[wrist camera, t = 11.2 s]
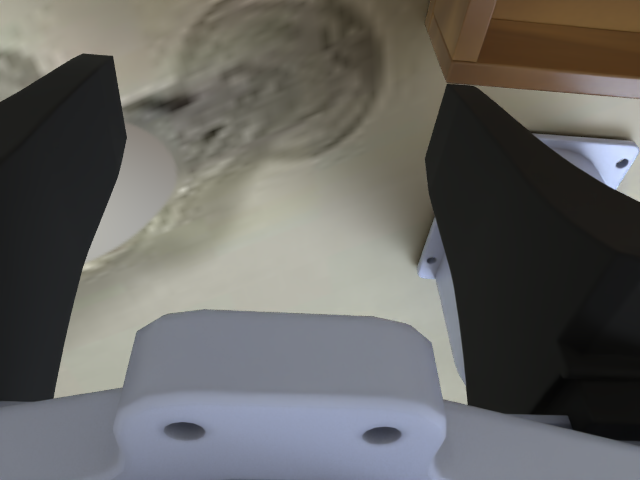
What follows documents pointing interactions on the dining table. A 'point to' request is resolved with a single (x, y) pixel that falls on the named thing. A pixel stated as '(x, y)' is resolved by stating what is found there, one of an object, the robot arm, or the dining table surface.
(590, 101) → the dining table surface
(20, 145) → the robot arm
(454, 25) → the wooden box
